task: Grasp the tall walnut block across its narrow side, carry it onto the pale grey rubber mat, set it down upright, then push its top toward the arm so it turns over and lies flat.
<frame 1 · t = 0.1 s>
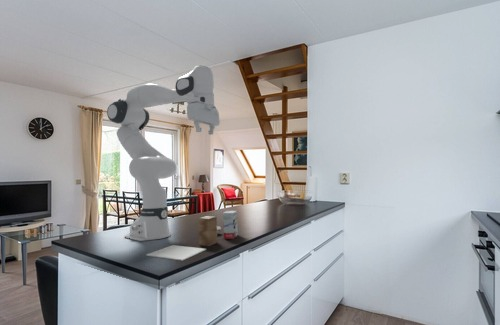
hand: (205, 133, 121), 48 cm above the counter, fingers open, 8 cm apart
fossil: (210, 235, 133), on the counter
mat: (177, 252, 104), on the counter
walnut block: (208, 243, 116), on the counter
ink box: (230, 237, 127), on the counter
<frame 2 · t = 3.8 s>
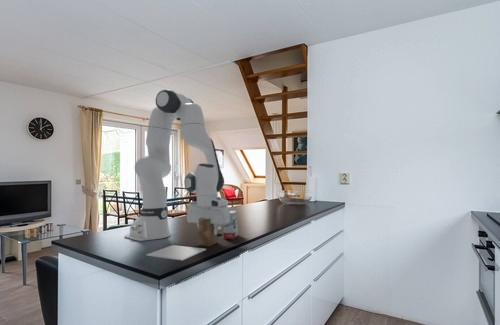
hand: (208, 234, 116), 4 cm above the counter, fingers closed on walnut block, 5 cm apart
walnut block: (208, 243, 116), on the counter, touching gripper
everything else where it was.
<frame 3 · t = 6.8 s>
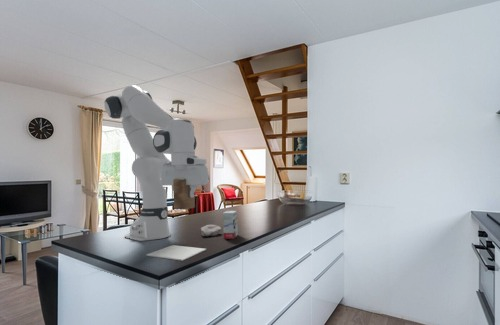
hand: (184, 197, 103), 21 cm above the counter, fingers closed on walnut block, 5 cm apart
walnut block: (184, 208, 103), point 17 cm above the counter, touching gripper
everything else where it was.
when the fingers open (6 cm above the counter, at t = 10.1 s): walnut block drops 1 cm, resting on mat.
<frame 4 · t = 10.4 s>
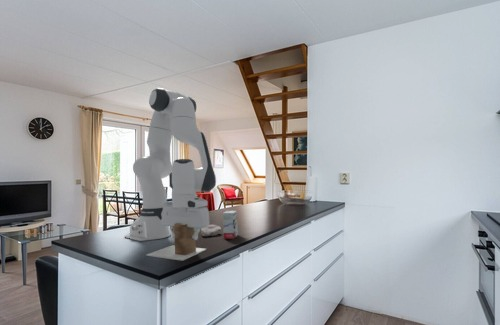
hand: (185, 238, 102), 6 cm above the counter, fingers open, 8 cm apart
walnut block: (185, 252, 102), resting on mat
everything else where it was.
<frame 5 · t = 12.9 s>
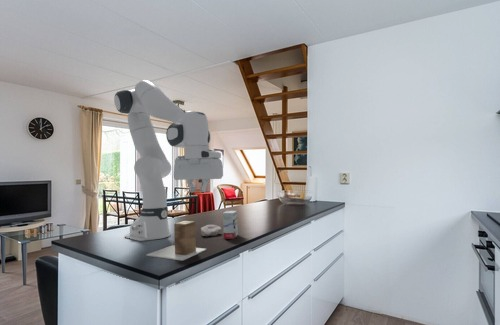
hand: (197, 191, 100), 23 cm above the counter, fingers open, 3 cm apart
nothing on the counter moved.
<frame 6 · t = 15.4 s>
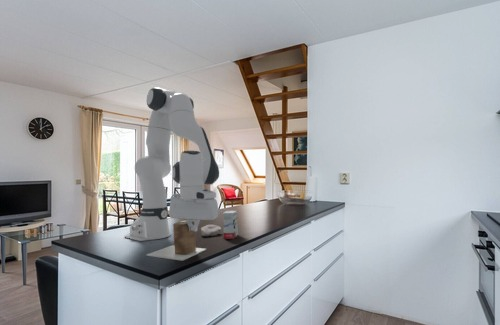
hand: (193, 231, 101), 9 cm above the counter, fingers closed
walnut block: (185, 252, 102), point 1 cm above the counter, touching gripper, mat
everything else where it was.
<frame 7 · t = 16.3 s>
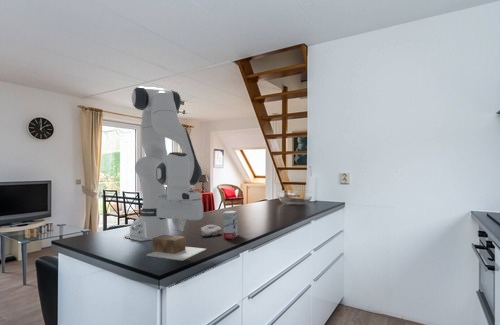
hand: (179, 230, 104), 8 cm above the counter, fingers closed
walnut block: (180, 245, 104), point 3 cm above the counter, tilted 90°, touching mat
everything else where it was.
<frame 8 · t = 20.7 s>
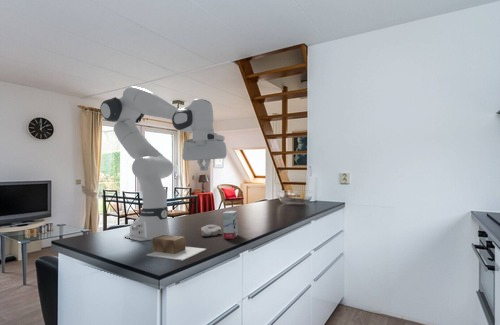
hand: (204, 170, 114), 31 cm above the counter, fingers closed
nothing on the counter moved.
at the end: walnut block tilted 90°; walnut block 1.4 cm from the mat (horizontally); the gripper is holding nothing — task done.
